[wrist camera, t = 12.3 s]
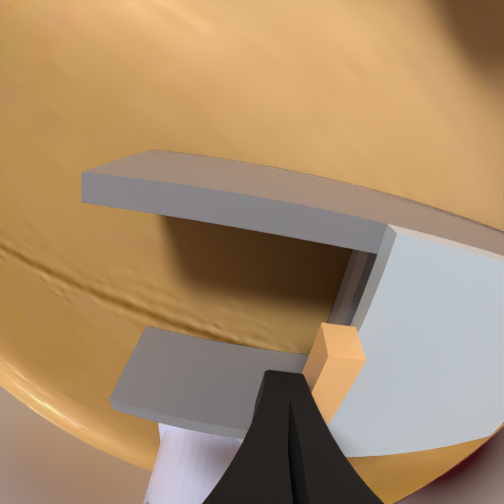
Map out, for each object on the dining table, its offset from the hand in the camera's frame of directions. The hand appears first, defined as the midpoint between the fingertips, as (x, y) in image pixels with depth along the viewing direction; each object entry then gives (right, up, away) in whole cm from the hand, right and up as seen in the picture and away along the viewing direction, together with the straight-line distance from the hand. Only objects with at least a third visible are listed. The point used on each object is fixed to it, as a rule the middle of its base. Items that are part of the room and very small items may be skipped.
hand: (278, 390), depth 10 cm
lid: (+9, -1, +1) cm, 9 cm away
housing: (+6, +2, +7) cm, 9 cm away
